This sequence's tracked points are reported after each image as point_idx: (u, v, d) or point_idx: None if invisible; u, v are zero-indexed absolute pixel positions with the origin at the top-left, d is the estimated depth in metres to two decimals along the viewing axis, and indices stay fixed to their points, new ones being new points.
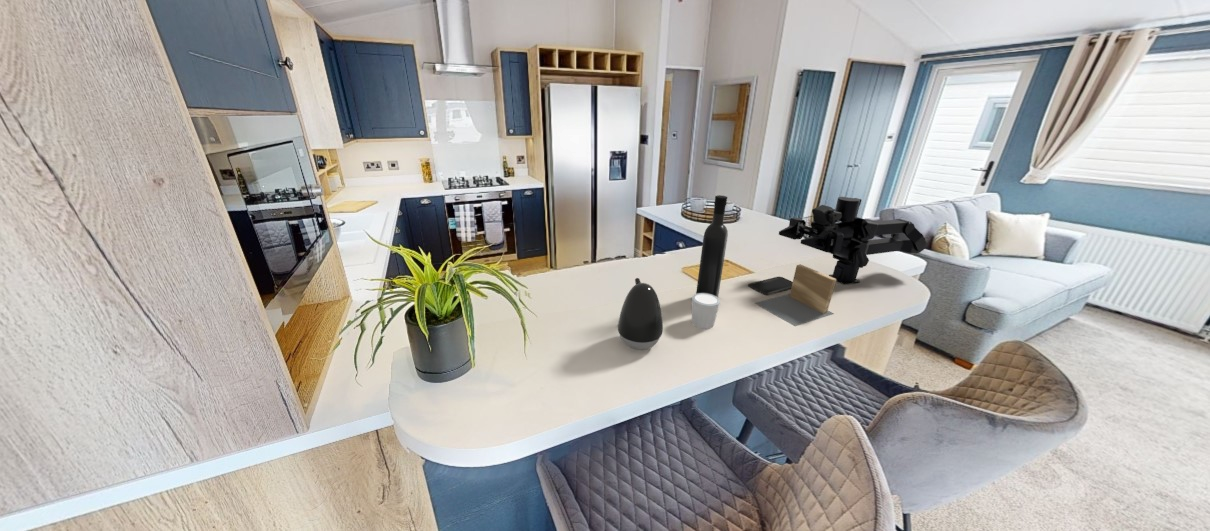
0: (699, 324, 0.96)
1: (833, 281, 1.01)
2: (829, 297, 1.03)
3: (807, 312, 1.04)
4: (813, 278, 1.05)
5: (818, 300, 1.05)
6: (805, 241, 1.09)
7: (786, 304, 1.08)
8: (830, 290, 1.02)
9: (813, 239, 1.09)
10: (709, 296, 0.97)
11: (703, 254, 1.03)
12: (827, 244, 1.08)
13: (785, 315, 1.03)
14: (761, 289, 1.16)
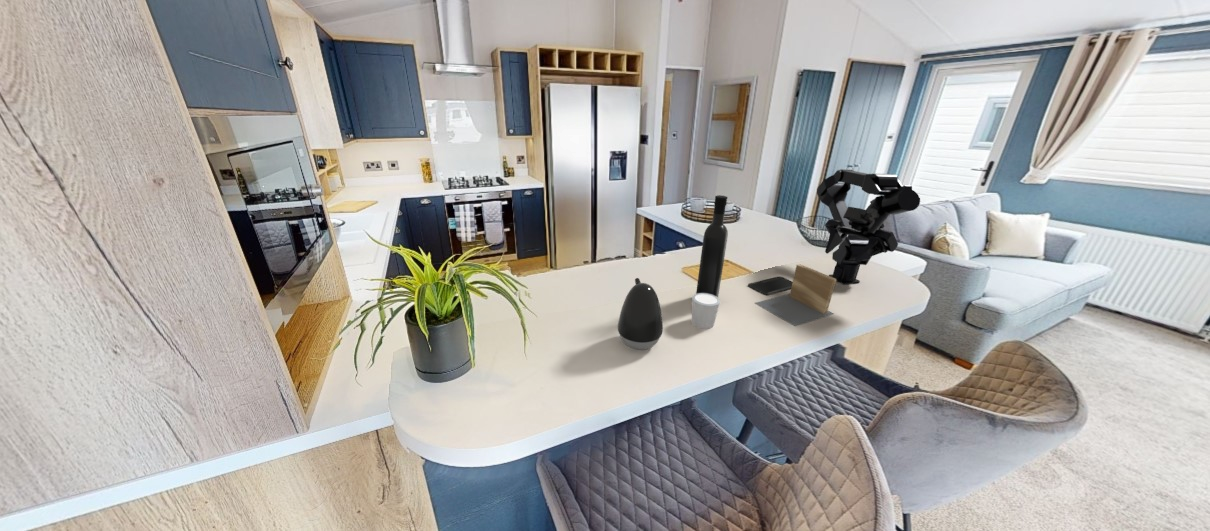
0: (699, 324, 0.96)
1: (833, 281, 1.01)
2: (829, 297, 1.03)
3: (807, 312, 1.04)
4: (813, 278, 1.05)
5: (818, 300, 1.05)
6: (859, 258, 1.05)
7: (786, 304, 1.08)
8: (830, 290, 1.02)
9: (866, 252, 1.04)
10: (709, 296, 0.97)
11: (703, 254, 1.03)
12: (882, 247, 1.03)
13: (785, 315, 1.03)
14: (761, 289, 1.16)
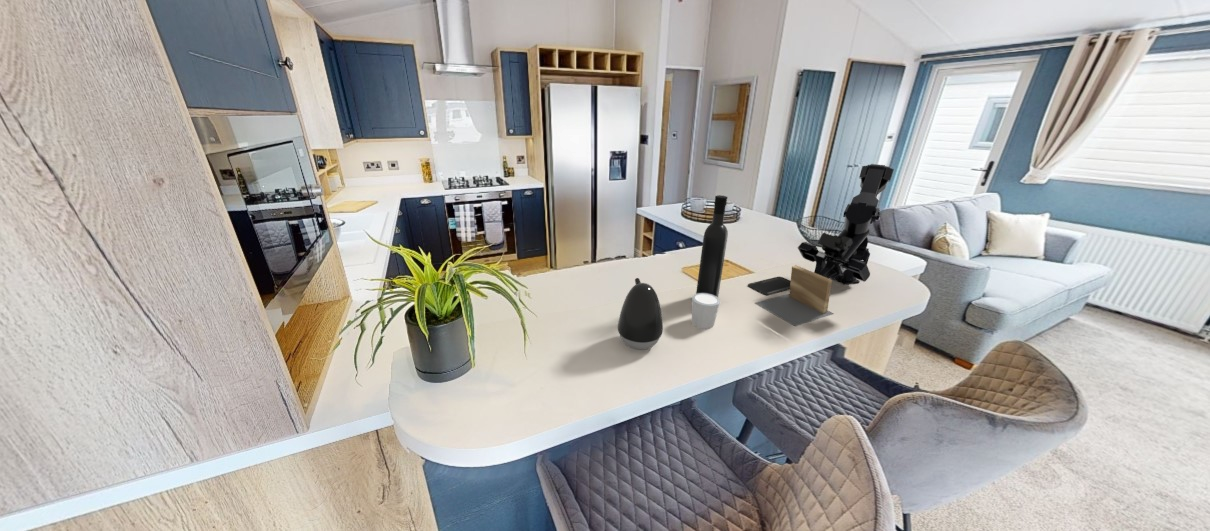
0: (699, 324, 0.96)
1: (828, 282, 1.00)
2: (827, 298, 1.02)
3: (807, 312, 1.04)
4: (809, 279, 1.05)
5: (817, 301, 1.05)
6: None
7: (786, 304, 1.08)
8: (827, 291, 1.01)
9: (823, 275, 1.05)
10: (709, 296, 0.97)
11: (703, 254, 1.03)
12: (838, 271, 1.04)
13: (785, 315, 1.03)
14: (761, 289, 1.16)
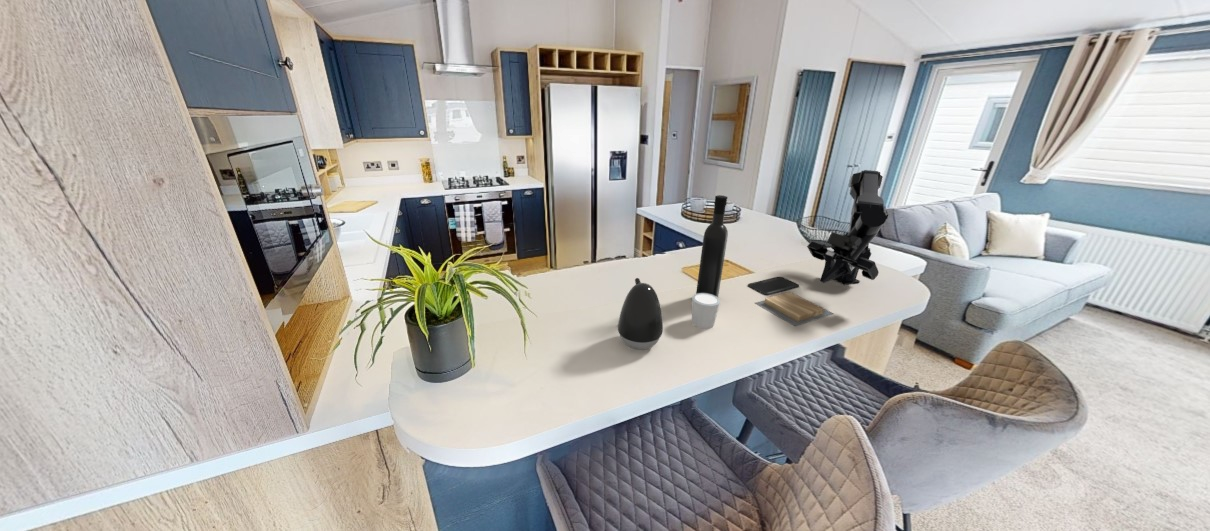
0: (699, 324, 0.96)
1: (799, 319, 1.00)
2: (811, 315, 1.02)
3: None
4: None
5: None
6: (826, 279, 1.08)
7: None
8: (806, 317, 1.01)
9: (832, 274, 1.07)
10: (709, 296, 0.97)
11: (703, 254, 1.03)
12: (847, 269, 1.06)
13: (785, 315, 1.03)
14: (761, 289, 1.16)
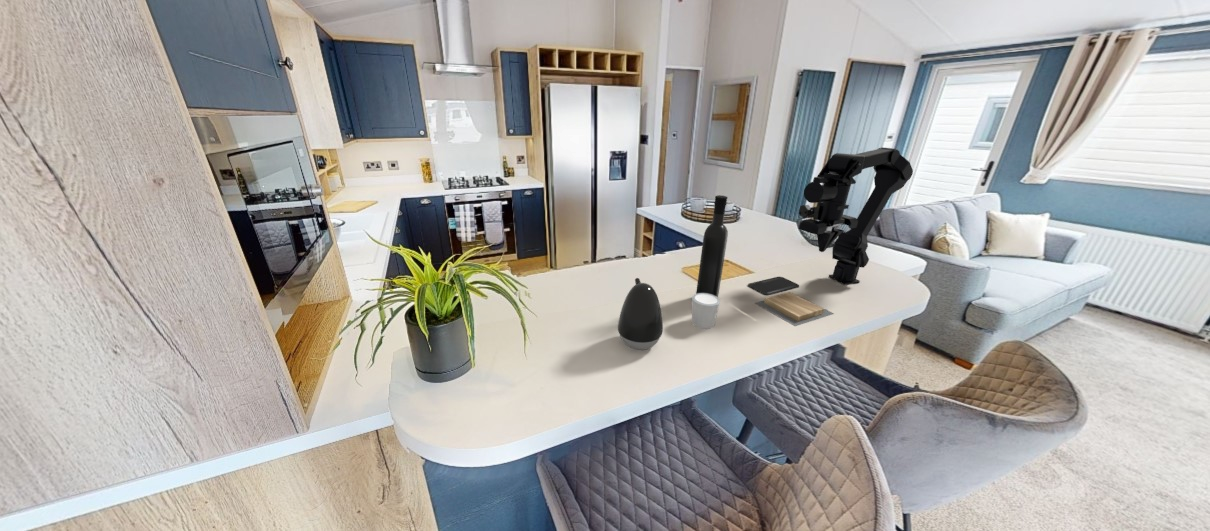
0: (699, 324, 0.96)
1: (799, 319, 1.00)
2: (811, 315, 1.02)
3: None
4: None
5: None
6: (820, 248, 1.15)
7: None
8: (806, 317, 1.01)
9: (818, 241, 1.14)
10: (709, 296, 0.97)
11: (703, 254, 1.03)
12: None
13: (785, 315, 1.03)
14: (761, 289, 1.16)
